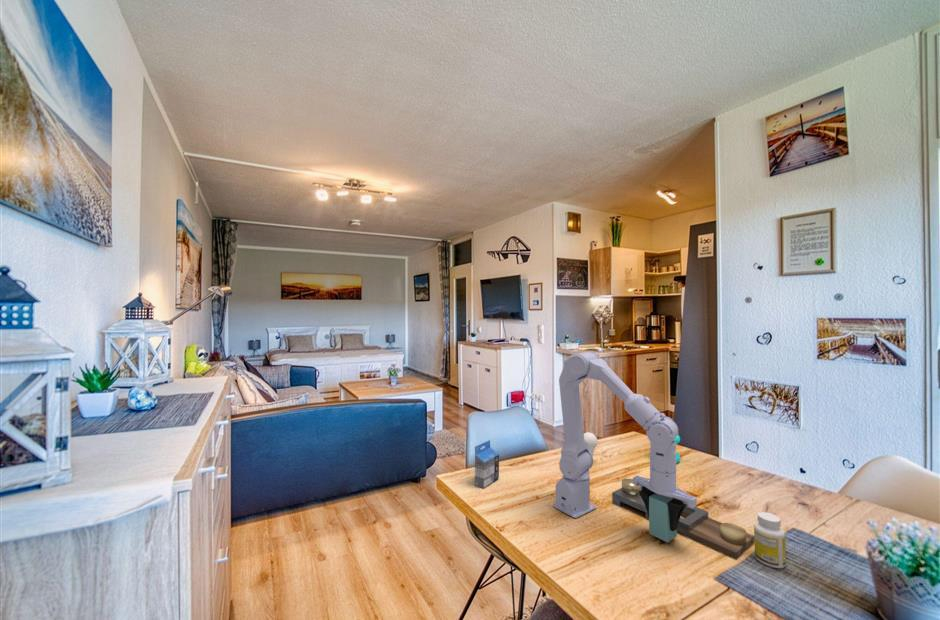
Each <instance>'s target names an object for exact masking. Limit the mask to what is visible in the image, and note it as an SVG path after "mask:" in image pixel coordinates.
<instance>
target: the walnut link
mask: <svg viewBox="0 0 940 620" xmlns="http://www.w3.org/2000/svg"><path fill="white" fill-rule="evenodd" d="M689 515H691V514H689V513H686V512H684V511H683V512H682V514H681V517H682V518H684V519H685V518H686V517H688V516H689ZM645 519H647V520H649V516H648V513H646V512H645ZM677 534H679V535H682V536H683V537H686V538H688V539H691V540H693V541H695V542H697V543H699V544H702V545H703V546H705V547H708V548H710V549H713V550H714V551H717V552H719V553H721V554H723V555H724V556H725V555H726V556H727V557H730V558H732V559H734V560H738V559H739V558H740V557H741V556H742V555H744V553H745V552H747V550H748V549H750V547H751V546H752V545H753V544H754V535H753V534H751V533H748V532H747V531H746V529H745V528H743V527H742V526H740V525H738V524H735V523H732V522H721V521H718V520H715V519H714V518H711V517H708V518H707V519H706V520H704V521H703V522H702V523H700V524H699V525H697V526H696V527H695V528H693V529H692V530H691V531H689V532H688V531H686V530H684V529H682V528H680V527H677Z"/></svg>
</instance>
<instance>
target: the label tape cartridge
mask: <svg viewBox="0 0 940 620" xmlns="http://www.w3.org/2000/svg"><path fill="white" fill-rule="evenodd" d="M499 480H500V454H499V453H498V452H496V451H495V450H494V449H493V448H492V447H491V440H490V439H489V440H486V441H485V442H483V443H481V444H478V445H476V446H474V486H475V487H477V488H479V489H480V488H481V489H486V488H487V487H489V486H490V485H492V484H493V483H495V482H496V481H499Z"/></svg>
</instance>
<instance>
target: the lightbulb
mask: <svg viewBox="0 0 940 620" xmlns="http://www.w3.org/2000/svg"><path fill="white" fill-rule="evenodd" d="M584 440H585V441H586V442H587V444H588V445H589V451H590V453H591V455H592V457H593V456H594V452H595V449H596V447H597V445H598V443H599V442H598V438H597V436H596V435H595V434H594V433H593V432H589V431H587V432H584ZM593 458H594V457H593Z"/></svg>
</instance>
